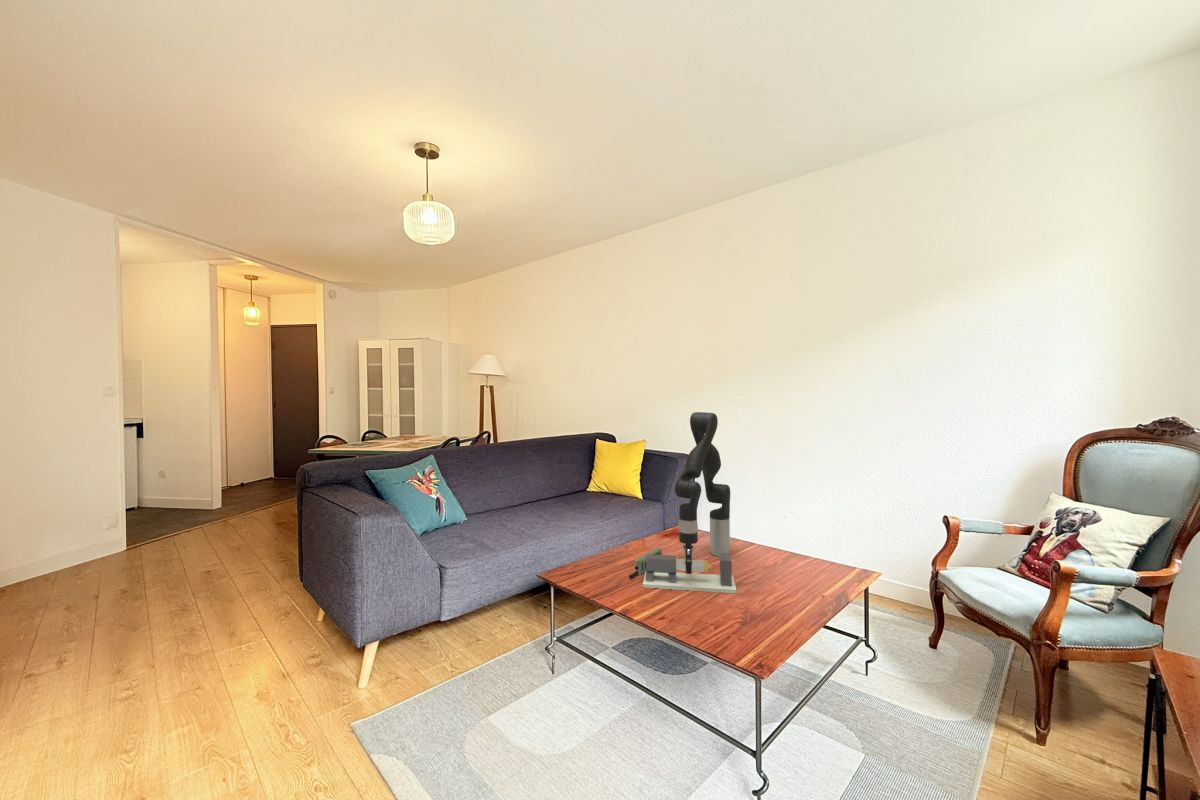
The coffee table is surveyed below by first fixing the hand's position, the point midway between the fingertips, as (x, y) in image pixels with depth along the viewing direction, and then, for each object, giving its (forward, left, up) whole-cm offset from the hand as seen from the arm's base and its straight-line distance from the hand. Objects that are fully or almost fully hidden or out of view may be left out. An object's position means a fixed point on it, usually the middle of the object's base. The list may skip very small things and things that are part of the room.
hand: (688, 569), depth 193 cm
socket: (0, +15, -4) cm, 15 cm away
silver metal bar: (0, -4, 0) cm, 4 cm away
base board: (0, 0, -6) cm, 6 cm away
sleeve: (0, -11, -4) cm, 12 cm away
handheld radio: (-12, -18, -6) cm, 23 cm away
